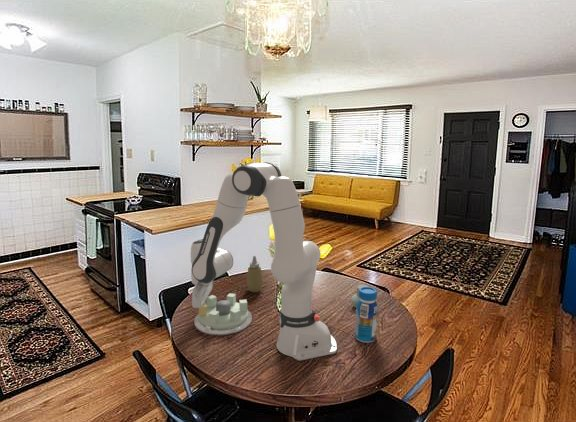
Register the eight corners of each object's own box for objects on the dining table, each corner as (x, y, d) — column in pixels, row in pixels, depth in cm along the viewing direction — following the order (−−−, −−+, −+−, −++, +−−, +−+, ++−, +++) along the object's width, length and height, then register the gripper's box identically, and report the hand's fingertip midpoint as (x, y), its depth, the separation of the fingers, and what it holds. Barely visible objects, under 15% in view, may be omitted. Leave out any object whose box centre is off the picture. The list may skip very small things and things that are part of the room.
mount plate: (250, 305, 169) (250, 300, 168) (253, 333, 146) (253, 326, 145) (197, 308, 165) (196, 303, 165) (191, 337, 142) (191, 330, 142)
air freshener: (349, 310, 166) (350, 289, 164) (351, 302, 174) (352, 282, 172) (374, 313, 164) (375, 292, 162) (374, 304, 172) (376, 284, 170)
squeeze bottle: (260, 286, 191) (260, 253, 187) (264, 292, 183) (264, 258, 180) (245, 288, 188) (244, 254, 185) (248, 294, 181) (248, 259, 177)
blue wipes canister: (350, 334, 146) (352, 287, 142) (368, 330, 149) (371, 284, 145) (361, 345, 138) (364, 296, 134) (380, 341, 141) (384, 292, 137)
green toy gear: (244, 303, 168) (244, 291, 166) (251, 326, 148) (251, 312, 147) (197, 308, 162) (197, 295, 161) (199, 332, 143) (198, 317, 142)
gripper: (203, 287, 142) (204, 320, 145) (215, 268, 162) (216, 297, 165) (187, 287, 142) (188, 319, 145) (201, 268, 162) (202, 297, 165)
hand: (203, 307), depth 155 cm, fingers closed
